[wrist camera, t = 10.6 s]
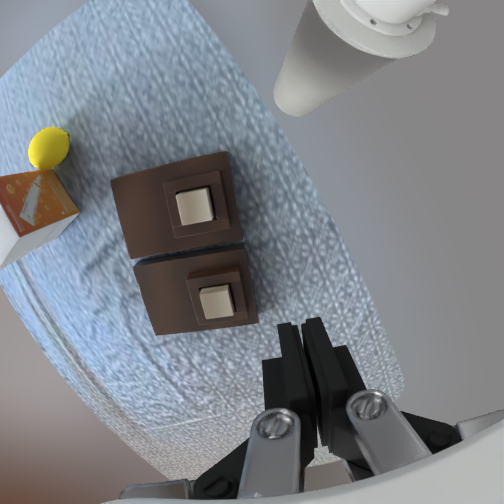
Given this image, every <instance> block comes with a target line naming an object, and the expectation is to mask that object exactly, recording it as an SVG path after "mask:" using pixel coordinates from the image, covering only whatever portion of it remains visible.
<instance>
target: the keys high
mask: <svg viewBox="0 0 504 504" xmlns="http://www.w3.org/2000/svg"><path fill="white" fill-rule="evenodd" d="M133 271H134V274H135V277H136V280H137V284H138V287H139V290H140V293H141V296H142V299H143V302H144V305H145V307H146V310H147V313H148V316H149V319H150V321H151V324H152V327H153V330H154V332H155V335H167V334H177V333H187V332H195V331H204V330H212V329H220V328H228V327H235V326H242V325H249V324H255V323H259V319H258V310H257V305H256V300H255V295H254V289H253V284H252V279H251V274H250V268H249V263H248V258H247V252H246V247H245V243H241V244H235V245H229V246H224V247H218V248H212V249H206V250H200V251H195V252H189V253H183V254H177V255H172V256H166V257H160V258H155V259H149V260H144V261H138V262H137V263H136V264H135V265H134V266H133ZM225 284H229V287H230V292H231V296H232V301H233V305H234V315H233V316H227V317H219V318H212V319H206V317H205V313H204V310H203V306H202V302H201V299H200V292H201V289H202V288H206V287H212V286H219V285H225Z"/></svg>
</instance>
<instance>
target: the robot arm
mask: <svg viewBox="0 0 504 504" xmlns="http://www.w3.org/2000/svg"><path fill="white" fill-rule="evenodd" d="M436 1H437V0H339V2H340V3H341V5H342V6H343V7H344V9H345V10H346V11H347V12H348V13H349V14H350V15H351V16H352V17H353V18H354V19H356V20H357V21H358V22H359V23H361V24H363V25H364V26H366V27H367V28H369V29H371V30H374V31H376V32H378V33H381V34H384V35H389V36H404V35H408V34H410V33H412V32H413V31H415V30H416V29H417V28H418V27H419V26H420V24H421V21H422V15H423V13H425V12H426V13H430V12H435V13H438V14H441V15H447V14H448V13H449V9H448V6H447V5H446V4H443V3H440V2H436ZM277 328H278V334H279V340H280V347H281V353H282V357H280V358H273V359H267V360H262V369H263V386H264V402H265V411H263V412H262V413H260V414H259V415H258V416H257V417H256V418H255V419H254V421H253V423H252V426H251V431H250V437H249V438H248V439H247V440H246V441H244V442H243V443H242V444H241V445H240V446H238V447H237V448H236V449H235V450H233V451H232V452H231V453H230V454H228V455H227V456H226V457H224V458H223V459H222V460H221V461H219V462H218V463H217V464H215V465H214V466H213V467H211V468H210V469H209V470H207V471H206V472H205V473H203V474H202V475H201V476H200V477H199V478H198V479H197V480H191V481H189V480H188V479H181V480H174V481H166V482H157V483H147V484H136V485H130V486H128V487H126V488H125V489H123V491H122V492H121V494H120V496H119V500H114V501H109V502H105V503H101V504H504V410H498V411H495V412H492V413H489V414H486V415H482V416H479V417H475V418H472V419H468V420H464V421H460V422H457V424H456V425H455V426H451V425H448V424H446V423H442V422H439V421H435V420H431V419H427V418H423V417H420V416H416V415H413V414H410V413H406V412H403V411H399V409H398V408H397V406H396V405H395V404H394V402H393V401H392V400H391V398H390V397H389V396H388V395H387V394H386V393H384V392H382V391H379V390H374V389H368V390H367V389H366V387H365V385H364V383H363V380H362V378H361V376H360V374H359V372H358V369H357V367H356V365H355V363H354V361H353V359H352V356H351V354H350V352H349V350H348V348H347V346H346V345H343V346H338V347H332V344H331V342H330V339H329V337H328V334H327V332H326V330H325V327H324V325H323V322H322V320H321V318H320V317H316V318H311V319H306V323H304V324H301V328H302V338H303V345H302V341H301V338H300V334H299V330H298V326H297V325H293V326H292V324H291V322H288V323H283V324H277ZM303 347H304V349H303ZM317 426H318V430H319V435H320V439H321V444H322V447H323V446H328V449H329V453H332V452H333V454H334V455H336V456H338V457H340V458H342V461H343V464H344V466H345V469H346V471H347V473H348V475H349V477H350V479H351V481H352V483H348V484H344V485H340V486H335V487H331V488H326V489H321V490H316V491H310V492H304V491H305V468H306V467H307V465H308V464H309V463H310V462H311V461H312V460H313V459H314V448H318V440H317Z"/></svg>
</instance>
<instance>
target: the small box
mask: <svg viewBox="0 0 504 504" xmlns="http://www.w3.org/2000/svg"><path fill="white" fill-rule="evenodd" d="M79 213H80V210H79V209H78V208H77V207H76V205H75V204H74V202H73V201H72V200H71V198H70V197H69V195H68V193H67V192H66V190H65V189H64V187H63V186H62V184H61V182H60V181H59V179H58V178H57V176H56V174H55V173H54V171H53V169H45V170H37V171H30V172H24V173H18V174H12V175H6V176H1V177H0V270H1V269H2V268H4V267H6V266H7V265H9V264H11V263H13V262H14V261H16V260H18V259H20V258H21V257H23V256H25V255H27V254H29V253H30V252H32V251H34V250H36V249H38V248H40V247H42V246H43V245H45V244H47V243H49V242H51V241H53V240H55V239H56V238H58V236H59V235H60V234H61V233H62V232H63V231H64V230H65V228H66V227H67V226H68V225H69V224H70V223H71V222H72V221H73V220H74V219H75V217H76V216H77V215H78V214H79Z"/></svg>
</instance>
